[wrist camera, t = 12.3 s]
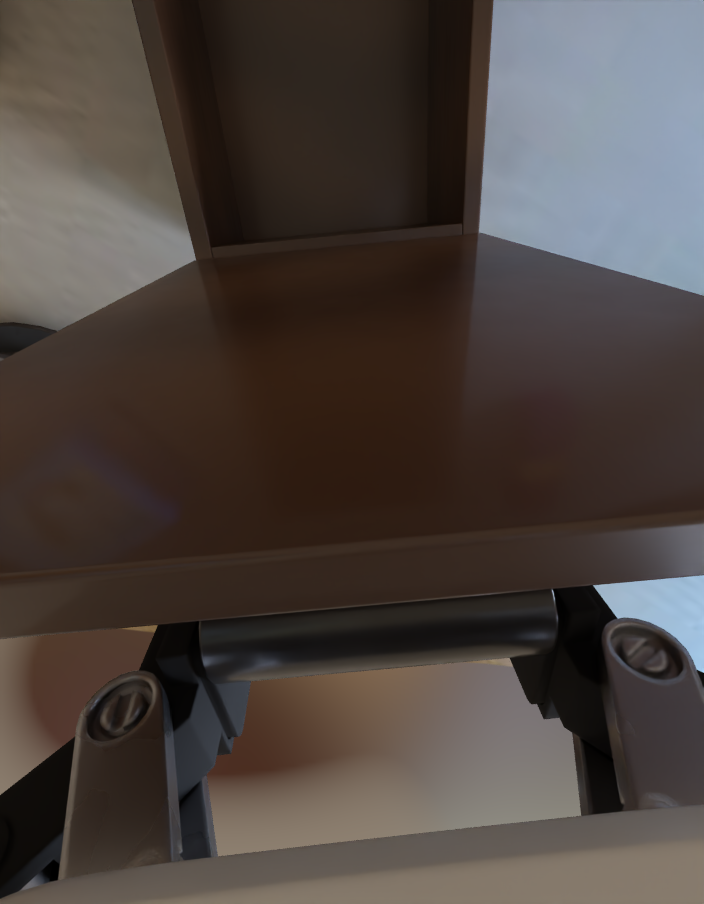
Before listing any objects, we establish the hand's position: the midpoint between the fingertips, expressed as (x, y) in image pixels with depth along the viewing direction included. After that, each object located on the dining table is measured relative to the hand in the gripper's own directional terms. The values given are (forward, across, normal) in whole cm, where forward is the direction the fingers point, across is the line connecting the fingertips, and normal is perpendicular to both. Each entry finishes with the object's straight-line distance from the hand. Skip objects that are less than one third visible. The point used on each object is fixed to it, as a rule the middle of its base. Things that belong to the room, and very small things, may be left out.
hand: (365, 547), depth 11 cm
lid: (+5, 0, -6) cm, 8 cm away
